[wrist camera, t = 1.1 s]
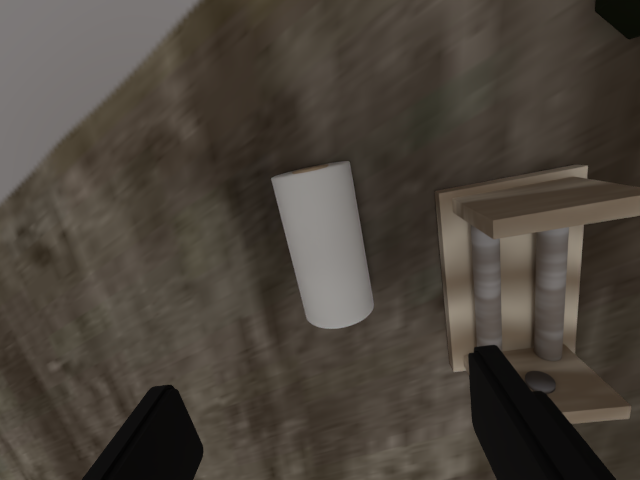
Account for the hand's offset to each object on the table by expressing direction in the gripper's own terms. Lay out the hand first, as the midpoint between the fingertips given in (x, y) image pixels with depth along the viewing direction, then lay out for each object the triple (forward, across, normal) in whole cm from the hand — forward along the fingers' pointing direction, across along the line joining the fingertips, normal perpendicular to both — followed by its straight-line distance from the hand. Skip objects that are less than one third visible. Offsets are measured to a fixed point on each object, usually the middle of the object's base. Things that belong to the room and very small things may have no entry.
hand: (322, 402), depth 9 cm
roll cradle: (+18, -14, +7) cm, 24 cm away
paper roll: (+18, 0, 0) cm, 19 cm away
